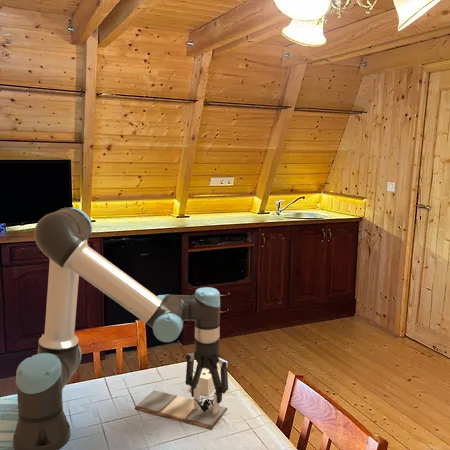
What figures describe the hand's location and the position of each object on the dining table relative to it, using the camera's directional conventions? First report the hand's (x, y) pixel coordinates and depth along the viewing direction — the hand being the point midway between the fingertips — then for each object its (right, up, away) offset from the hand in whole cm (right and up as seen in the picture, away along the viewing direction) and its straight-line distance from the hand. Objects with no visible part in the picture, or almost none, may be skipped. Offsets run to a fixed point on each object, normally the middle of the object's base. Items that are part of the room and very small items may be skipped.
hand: (206, 408), depth 147 cm
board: (-8, -2, +4) cm, 9 cm away
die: (-1, 0, +16) cm, 16 cm away
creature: (0, -1, +1) cm, 1 cm away
